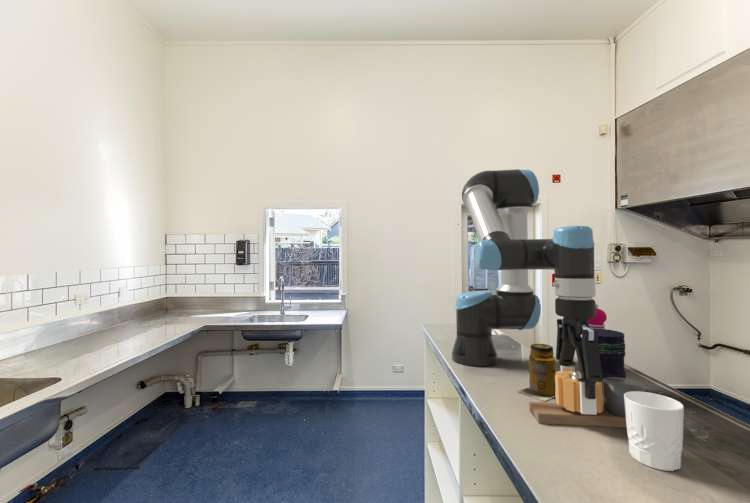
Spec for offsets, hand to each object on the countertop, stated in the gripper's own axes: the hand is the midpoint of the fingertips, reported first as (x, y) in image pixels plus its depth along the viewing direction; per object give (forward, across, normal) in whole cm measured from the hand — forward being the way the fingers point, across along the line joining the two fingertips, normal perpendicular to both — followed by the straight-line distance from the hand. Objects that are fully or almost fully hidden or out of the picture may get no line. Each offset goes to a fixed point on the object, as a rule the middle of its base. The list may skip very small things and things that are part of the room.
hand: (577, 403), depth 72 cm
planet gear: (0, 0, 0) cm, 0 cm away
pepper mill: (+3, -38, +22) cm, 44 cm away
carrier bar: (+3, 0, +2) cm, 4 cm away
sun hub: (+1, 0, +9) cm, 9 cm away
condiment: (+3, -14, -3) cm, 15 cm away
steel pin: (+1, 0, 0) cm, 1 cm away
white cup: (+3, +14, +6) cm, 16 cm away
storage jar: (+3, -18, +14) cm, 23 cm away
